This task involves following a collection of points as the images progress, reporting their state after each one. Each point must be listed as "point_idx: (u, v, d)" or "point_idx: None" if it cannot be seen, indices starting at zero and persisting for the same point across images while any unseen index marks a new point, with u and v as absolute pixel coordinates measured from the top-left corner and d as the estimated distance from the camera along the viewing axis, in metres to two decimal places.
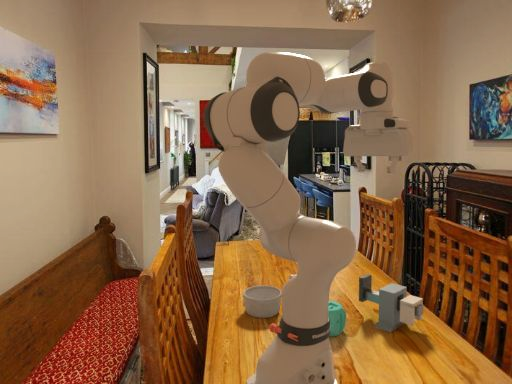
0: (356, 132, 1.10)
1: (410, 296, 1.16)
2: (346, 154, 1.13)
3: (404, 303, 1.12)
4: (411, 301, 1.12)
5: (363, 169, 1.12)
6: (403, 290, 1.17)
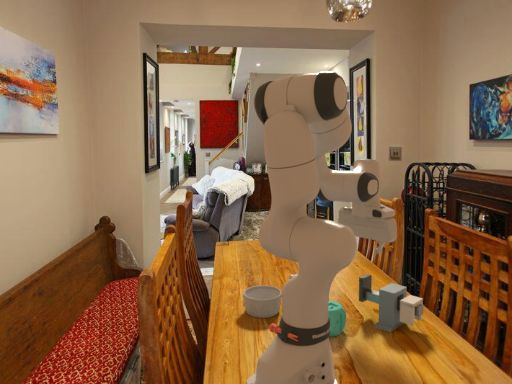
0: (348, 215, 1.26)
1: (410, 296, 1.16)
2: None
3: (404, 303, 1.12)
4: (411, 301, 1.12)
5: None
6: (403, 290, 1.17)
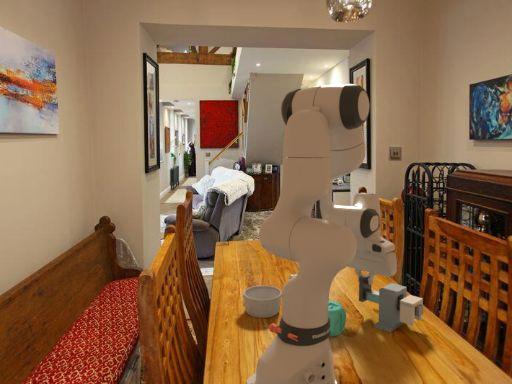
0: None
1: (410, 296, 1.16)
2: None
3: (404, 303, 1.12)
4: (411, 301, 1.12)
5: None
6: (403, 290, 1.17)
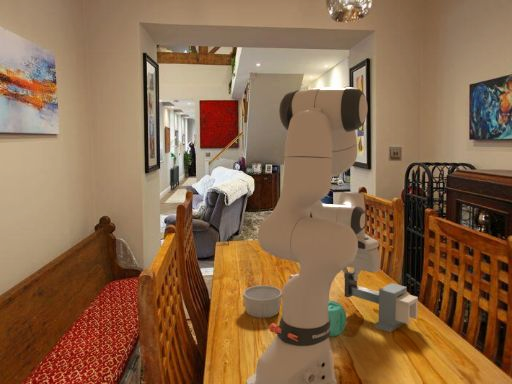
0: None
1: (405, 295, 1.17)
2: None
3: (399, 302, 1.13)
4: (406, 299, 1.13)
5: None
6: (403, 290, 1.17)
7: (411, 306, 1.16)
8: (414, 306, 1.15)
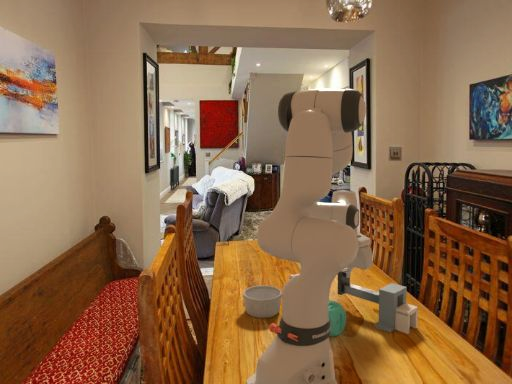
0: None
1: (405, 304, 1.17)
2: None
3: (399, 311, 1.14)
4: (406, 309, 1.14)
5: None
6: (403, 290, 1.17)
7: (411, 316, 1.16)
8: (414, 316, 1.16)
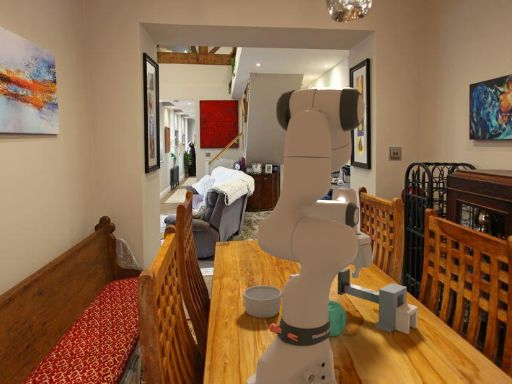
0: None
1: (405, 304, 1.17)
2: None
3: (399, 311, 1.14)
4: (406, 309, 1.14)
5: None
6: (403, 290, 1.17)
7: (411, 316, 1.16)
8: (414, 316, 1.16)
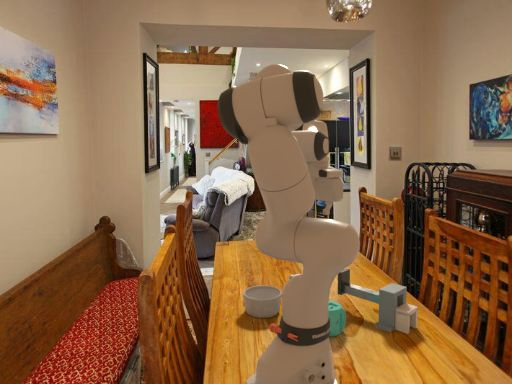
0: None
1: (405, 304, 1.17)
2: None
3: (399, 311, 1.14)
4: (406, 309, 1.14)
5: None
6: (403, 290, 1.17)
7: (411, 316, 1.16)
8: (414, 316, 1.16)
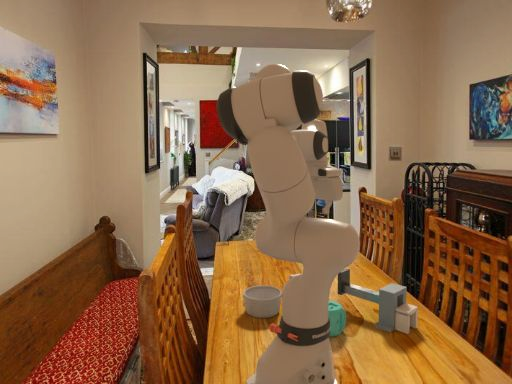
0: None
1: (405, 304, 1.17)
2: None
3: (399, 311, 1.14)
4: (406, 309, 1.14)
5: None
6: (403, 290, 1.17)
7: (411, 316, 1.16)
8: (414, 316, 1.16)
